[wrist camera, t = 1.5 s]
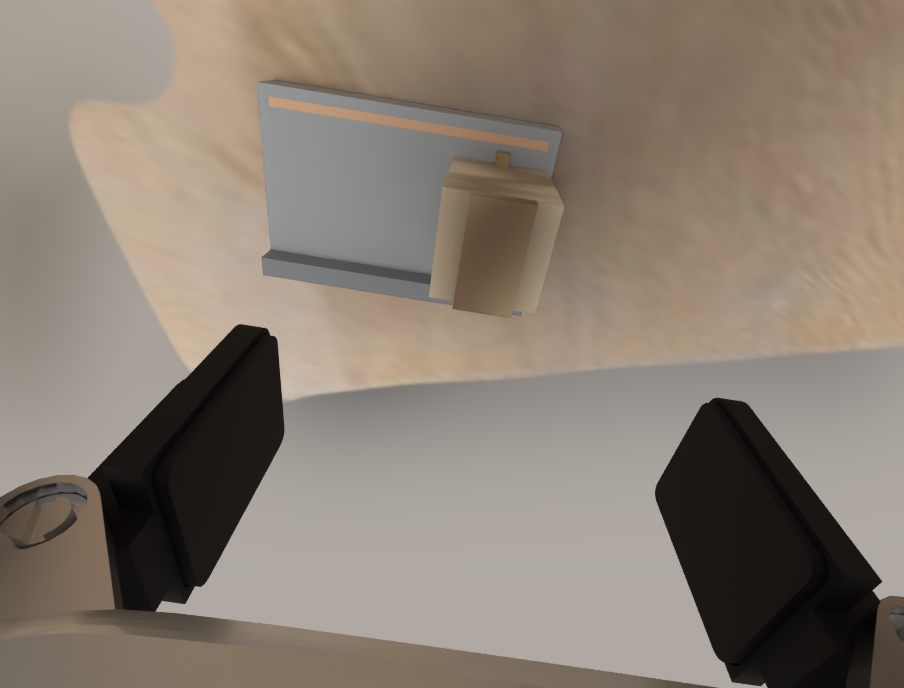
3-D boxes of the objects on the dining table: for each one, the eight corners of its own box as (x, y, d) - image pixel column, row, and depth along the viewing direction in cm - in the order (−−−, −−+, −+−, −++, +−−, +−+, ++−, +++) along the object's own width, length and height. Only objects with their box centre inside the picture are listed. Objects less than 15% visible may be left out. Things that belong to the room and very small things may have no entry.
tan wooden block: (551, 158, 21) (572, 194, 16) (526, 260, 24) (536, 322, 18) (456, 142, 21) (442, 173, 16) (442, 246, 24) (426, 304, 18)
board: (557, 126, 22) (566, 136, 20) (517, 290, 27) (520, 316, 24) (274, 79, 22) (244, 83, 19) (285, 253, 27) (263, 275, 24)
